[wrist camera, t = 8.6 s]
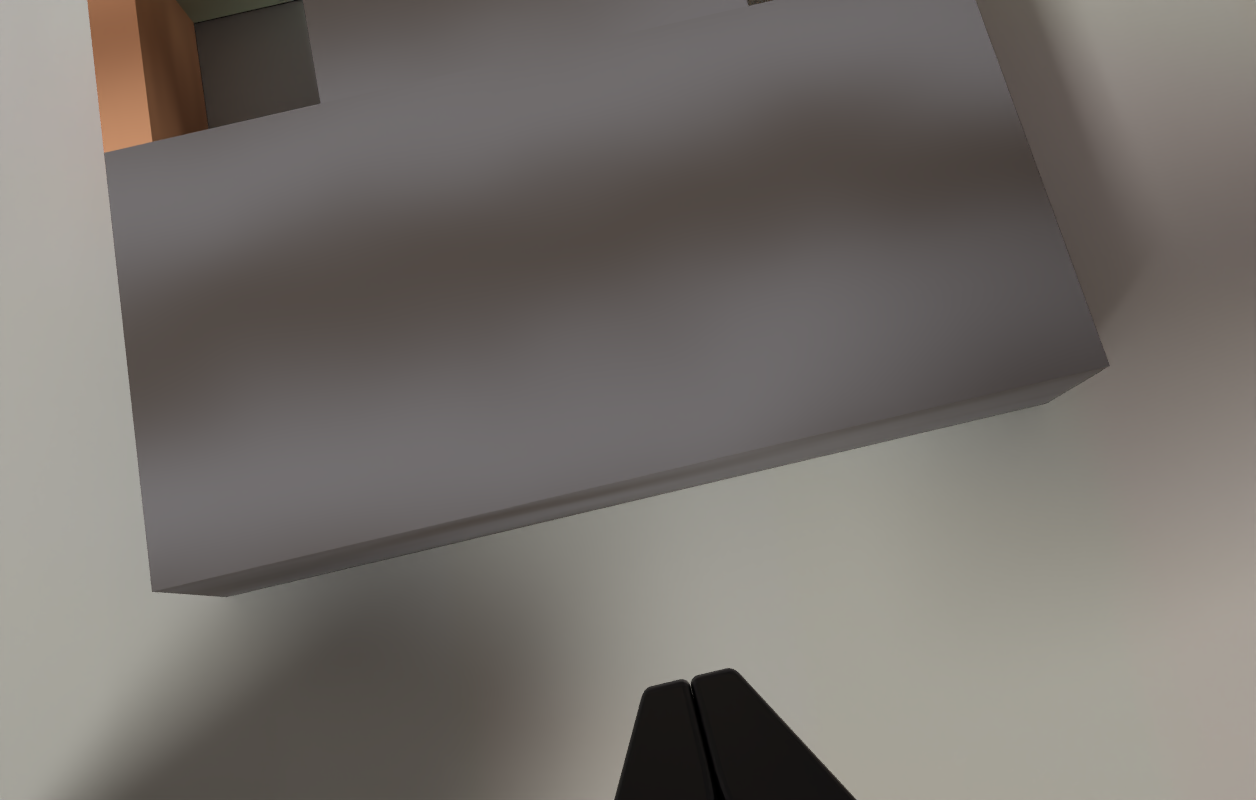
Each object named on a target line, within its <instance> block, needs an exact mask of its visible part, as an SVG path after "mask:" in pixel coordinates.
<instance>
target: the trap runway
mask: <svg viewBox="0 0 1256 800" xmlns="http://www.w3.org/2000/svg"><path fill="white" fill-rule="evenodd" d="M87 1H88V10H89V19H90V28H91V37H92V47H93V56H94V65H95V74H96V83H97V92H98V101H99V110H100V120H101V129H102V138H103V147H104V156H105V165H106V174H107V184H108V193H109V202H110V211H111V220H112V229H113V238H114V247H115V257H116V266H117V275H118V284H119V293H120V302H121V311H122V320H123V330H124V339H125V348H126V357H127V366H128V375H129V384H130V394H131V403H132V412H133V421H134V430H135V439H136V448H137V457H138V467H139V476H140V485H141V494H142V503H143V512H144V521H145V531H146V540H147V549H148V558H149V567H150V576H151V585H152V592H164V593H178V594H192V595H206V596H219V597H228V596H232V595H236V594H241V593H245V592H249V591H253V590H258V589H262V588H266V587H270V586H275V585H279V584H283V583H287V582H292V581H296V580H300V579H304V578H308V577H313V576H317V575H321V574H325V573H330V572H334V571H338V570H342V569H347V568H351V567H355V566H359V565H364V564H368V563H372V562H376V561H380V560H385V559H389V558H393V557H397V556H402V555H406V554H410V553H414V552H419V551H423V550H427V549H431V548H435V547H440V546H444V545H448V544H452V543H457V542H461V541H465V540H469V539H474V538H478V537H482V536H486V535H491V534H495V533H499V532H503V531H507V530H512V529H516V528H520V527H524V526H529V525H533V524H537V523H541V522H546V521H550V520H554V519H558V518H563V517H567V516H571V515H575V514H579V513H584V512H588V511H592V510H596V509H601V508H605V507H609V506H613V505H618V504H622V503H626V502H630V501H634V500H639V499H643V498H647V497H651V496H656V495H660V494H664V493H668V492H673V491H677V490H681V489H685V488H690V487H694V486H698V485H702V484H706V483H711V482H715V481H719V480H723V479H728V478H732V477H736V476H740V475H745V474H749V473H753V472H757V471H762V470H766V469H770V468H774V467H778V466H783V465H787V464H791V463H795V462H800V461H804V460H808V459H812V458H817V457H821V456H825V455H829V454H833V453H838V452H842V451H846V450H850V449H855V448H859V447H863V446H867V445H872V444H876V443H880V442H884V441H889V440H893V439H897V438H901V437H905V436H910V435H914V434H918V433H922V432H927V431H931V430H935V429H939V428H944V427H948V426H952V425H956V424H960V423H965V422H969V421H973V420H977V419H982V418H986V417H990V416H994V415H999V414H1003V413H1007V412H1011V411H1016V410H1020V409H1024V408H1028V407H1032V406H1037V405H1041V404H1045V403H1048V402H1050V401H1051V400H1053V399H1055V398H1056V397H1058V396H1060V395H1061V394H1063V393H1065V392H1066V391H1068V390H1070V389H1071V388H1073V387H1075V386H1077V385H1078V384H1080V383H1082V382H1083V381H1085V380H1087V379H1088V378H1090V377H1092V376H1093V375H1095V374H1097V373H1099V372H1100V371H1102V370H1104V369H1105V368H1107V367H1109V366H1110V365H1109V362H1108V360H1107V357H1106V354H1105V352H1104V349H1103V346H1102V343H1101V341H1100V338H1099V335H1098V332H1097V330H1096V327H1095V324H1094V322H1093V319H1092V316H1091V313H1090V311H1089V308H1088V305H1087V303H1086V300H1085V297H1084V294H1083V292H1082V289H1081V286H1080V283H1079V281H1078V278H1077V275H1076V273H1075V270H1074V267H1073V264H1072V262H1071V259H1070V256H1069V253H1068V251H1067V248H1066V245H1065V243H1064V240H1063V237H1062V234H1061V232H1060V229H1059V226H1058V223H1057V221H1056V218H1055V215H1054V213H1053V210H1052V207H1051V204H1050V202H1049V199H1048V196H1047V194H1046V191H1045V188H1044V185H1043V183H1042V180H1041V177H1040V174H1039V172H1038V169H1037V166H1036V164H1035V161H1034V158H1033V155H1032V153H1031V150H1030V147H1029V144H1028V142H1027V139H1026V136H1025V134H1024V131H1023V128H1022V125H1021V123H1020V120H1019V117H1018V114H1017V112H1016V109H1015V106H1014V104H1013V101H1012V98H1011V95H1010V93H1009V90H1008V87H1007V85H1006V82H1005V79H1004V76H1003V74H1002V71H1001V68H1000V65H999V63H998V60H997V57H996V55H995V52H994V49H993V46H992V44H991V41H990V38H989V35H988V33H987V30H986V27H985V25H984V22H983V19H982V16H981V14H980V11H979V8H978V5H977V3H976V0H772V1H768V2H763V3H759V4H755V5H750V6H748V3H747V0H303V5H304V10H305V16H306V22H307V28H308V34H309V39H310V45H311V51H312V57H313V63H314V69H315V74H316V80H317V86H318V92H319V98H320V104H316V105H312V106H307V107H303V108H298V109H294V110H290V111H285V112H281V113H276V114H272V115H268V116H263V117H259V118H255V119H250V120H246V121H241V122H237V123H233V124H228V125H224V126H219V127H215V128H211V129H208V122H207V114H206V107H205V100H204V93H203V86H202V79H201V71H200V64H199V57H198V50H197V43H196V36H195V28H194V23H196V22H201V21H205V20H210V19H214V18H218V17H223V16H227V15H232V14H236V13H241V12H245V11H249V10H254V9H258V8H263V7H267V6H271V5H276V4H280V3H285V2H289V1H294V0H87Z"/></svg>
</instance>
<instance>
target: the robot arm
mask: <svg viewBox="0 0 1256 800" xmlns="http://www.w3.org/2000/svg"><path fill="white" fill-rule="evenodd" d="M691 689H692V690H691ZM692 693H693V694H692ZM614 800H856V799H855V798H854V796H853V795H852V794H851V793H850V792H849V791H848V790H847V789H846V788H845V787H844V786H843V785H842V784H841V782H840V781H839V780H838V779H837V778H836V777H835V776H834V775H833V774H832V773H831V772H830V771H829V770H828V768H827V767H826V766H825V765H824V764H823V763H822V762H821V761H820V760H819V759H818V758H817V757H816V755H815V754H814V753H813V752H812V751H811V750H810V749H809V748H808V747H807V746H806V745H805V744H804V743H803V741H802V740H801V739H800V738H799V737H798V736H797V735H796V734H795V733H794V732H793V731H792V730H791V728H790V727H789V726H788V725H787V724H786V723H785V722H784V721H783V720H782V719H781V718H780V717H779V716H778V714H777V713H776V712H775V711H774V710H773V709H772V708H771V707H770V706H769V705H768V704H767V703H766V701H765V700H764V699H763V698H762V697H761V696H760V695H759V694H758V693H757V692H756V691H755V690H754V689H753V687H752V686H751V685H750V684H749V683H748V682H747V681H746V680H745V679H744V678H743V677H742V676H741V675H740V674H739V673H738V672H737V671H736V670H734V669H731V668H726V669H722V670H718V671H714V672H709V673H705V674H701V675H697V676H695V677H694V678H693V679H692V681H691V686H690V684H689V683H688V682H687V681H686V680H683V679H680V680H676V681H672V682H667V683H663V684H659V685H655V686H651V687H648V688H647V689H646V690H645V691H644V693H643V695H642V697H641V701H640V705H639V709H638V712H637V716H636V720H635V724H634V727H633V731H632V735H631V739H630V742H629V746H628V750H627V754H626V758H625V761H624V765H623V769H622V773H621V776H620V780H619V784H618V788H617V792H616V795H615V799H614Z"/></svg>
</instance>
